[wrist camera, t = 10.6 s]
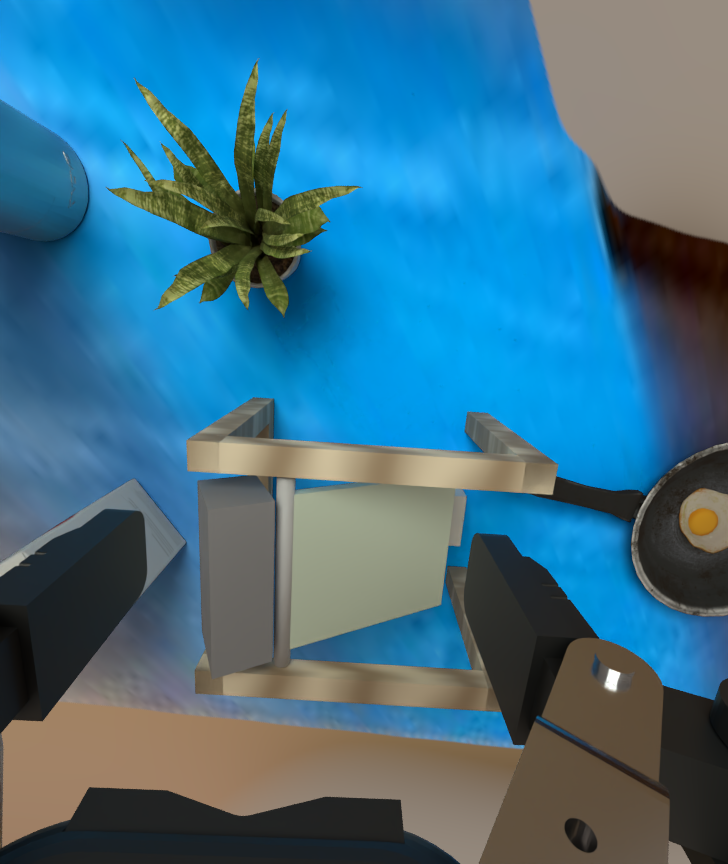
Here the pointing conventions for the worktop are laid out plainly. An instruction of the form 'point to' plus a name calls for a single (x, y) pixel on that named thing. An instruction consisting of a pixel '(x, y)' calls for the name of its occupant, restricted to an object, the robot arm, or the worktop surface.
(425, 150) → the worktop surface
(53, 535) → the supplement box
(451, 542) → the cube
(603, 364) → the worktop surface
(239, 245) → the house plant
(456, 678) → the frame
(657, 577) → the frying pan
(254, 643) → the trapdoor
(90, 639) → the robot arm
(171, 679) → the worktop surface
